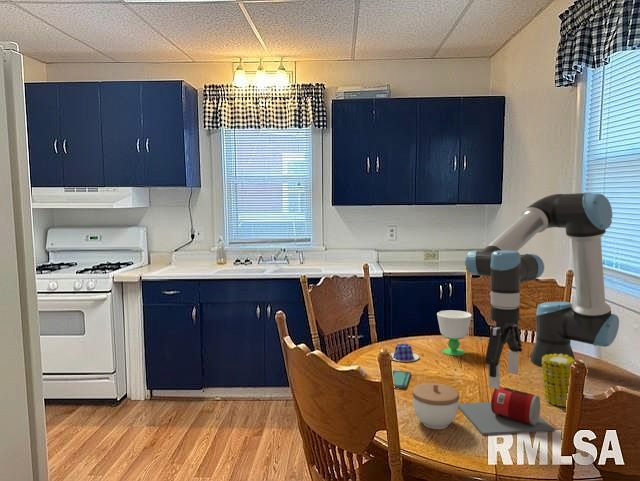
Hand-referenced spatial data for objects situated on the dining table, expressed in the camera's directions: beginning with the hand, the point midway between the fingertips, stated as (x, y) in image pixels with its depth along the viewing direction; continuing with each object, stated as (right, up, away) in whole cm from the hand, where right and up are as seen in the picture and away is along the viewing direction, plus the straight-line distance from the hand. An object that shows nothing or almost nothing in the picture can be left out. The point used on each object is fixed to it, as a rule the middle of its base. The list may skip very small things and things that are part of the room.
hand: (503, 380), depth 132 cm
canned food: (-2, -6, +2) cm, 7 cm away
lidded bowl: (-20, -12, -2) cm, 23 cm away
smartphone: (-25, -10, +29) cm, 40 cm away
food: (+21, -10, +11) cm, 26 cm away
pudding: (-19, -7, +53) cm, 57 cm away
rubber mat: (0, -11, +1) cm, 11 cm away
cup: (+3, -6, +59) cm, 59 cm away
